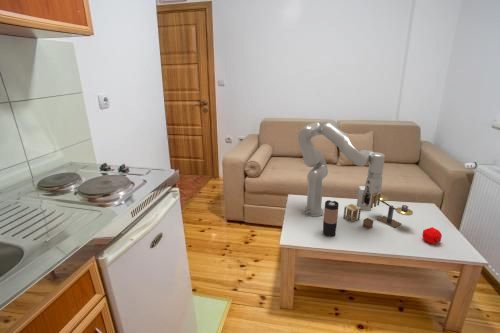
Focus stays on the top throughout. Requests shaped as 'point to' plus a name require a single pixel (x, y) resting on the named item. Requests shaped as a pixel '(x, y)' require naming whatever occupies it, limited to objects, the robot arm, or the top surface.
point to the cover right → (373, 199)
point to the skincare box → (359, 200)
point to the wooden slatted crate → (350, 213)
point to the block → (368, 223)
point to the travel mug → (330, 218)
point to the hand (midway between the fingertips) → (370, 201)
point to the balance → (389, 220)
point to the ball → (432, 235)
